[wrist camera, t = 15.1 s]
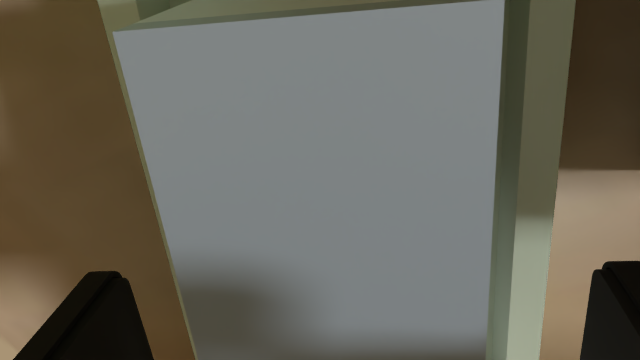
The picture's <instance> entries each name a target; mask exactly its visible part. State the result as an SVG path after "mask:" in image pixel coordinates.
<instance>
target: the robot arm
mask: <svg viewBox="0 0 640 360" xmlns="http://www.w3.org/2000/svg"><path fill="white" fill-rule="evenodd" d="M13 360H154V359H153V355H152V352H151V349H150V346H149V343H148V340H147V337H146V333H145V330H144V327H143V324H142V321H141V318H140V315H139V311H138V308H137V305H136V302H135V299H134V296H133V292H132V289H131V286H130V283H129V281H128V280H127V279H126V278H122V276H121V274H120V273H119V272H116V271H96V272H89V273H87V274H86V275H85V276H84V277H83V279H82V280H81V281H80V282H79V283H78V284H77V286H76V287H75V288H74V289H73V290H72V291H71V293H70V294H69V295H68V296H67V297H66V298H65V300H64V301H63V302H62V303H61V304H60V305H59V307H58V308H57V309H56V310H55V311H54V312H53V314H52V315H51V316H50V317H49V318H48V319H47V321H46V322H45V323H44V324H43V325H42V326H41V328H40V329H39V330H38V331H37V332H36V333H35V335H34V336H33V337H32V338H31V339H30V340H29V342H28V343H27V344H26V345H25V346H24V347H23V349H22V350H21V351H20V352H19V353H18V354H17V356H16V357H15V358H14V359H13ZM580 360H640V261H608V262H605V263H604V265H603V267H602V269H597V270H594V272H593V275H592V280H591V287H590V294H589V301H588V308H587V315H586V321H585V328H584V335H583V342H582V349H581V355H580Z"/></svg>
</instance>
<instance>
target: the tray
mask: <svg viewBox="0 0 640 360" xmlns="http://www.w3.org/2000/svg"><path fill="white" fill-rule="evenodd" d="M97 1H98V5H99V9H100V12H101V16H102V20H103V23H104V27H105V31H106V34H107V38H108V42H109V45H110V49H111V53H112V56H113V60H114V64H115V67H116V71H117V75H118V78H119V82H120V86H121V89H122V93H123V97H124V100H125V104H126V108H127V111H128V115H129V119H130V122H131V126H132V129H133V133H134V137H135V140H136V144H137V148H138V151H139V155H140V159H141V162H142V166H143V170H144V173H145V177H146V181H147V184H148V188H149V192H150V195H151V199H152V203H153V206H154V210H155V214H156V217H157V221H158V225H159V228H160V232H161V236H162V239H163V243H164V246H165V250H166V254H167V257H168V261H169V265H170V268H171V272H172V276H173V279H174V283H175V287H176V290H177V294H178V298H179V301H180V305H181V309H182V312H183V316H184V320H185V323H186V327H187V331H188V334H189V338H190V342H191V345H192V349H193V353H194V356H195V360H198V357H197V353H196V350H195V346H194V342H193V338H192V334H191V330H190V327H189V323H188V319H187V315H186V311H185V308H184V304H183V300H182V296H181V292H180V288H179V285H178V281H177V277H176V273H175V269H174V266H173V262H172V258H171V254H170V250H169V247H168V243H167V239H166V235H165V231H164V227H163V224H162V220H161V216H160V212H159V208H158V205H157V201H156V197H155V193H154V189H153V185H152V182H151V178H150V174H149V170H148V166H147V163H146V159H145V155H144V151H143V147H142V144H141V140H140V136H139V132H138V128H137V124H136V121H135V117H134V113H133V109H132V105H131V102H130V98H129V94H128V90H127V86H126V82H125V79H124V75H123V71H122V67H121V63H120V60H119V56H118V52H117V48H116V44H115V41H114V37H113V33H112V32H113V31H116V30H118V29H121V28H123V27H126V26H128V25H131V24H133V23H136V22H138V21H141V20H143V19H146V18H148V17H151V16H153V15H156V14H158V13H161V12H163V11H166V10H168V9H171V8H173V7H176V6H178V5H181V4H183V3H186V2H188V1H191V0H97ZM575 4H576V0H505V4H504V23H503V42H502V60H501V79H500V98H499V116H498V135H497V154H496V173H495V191H494V210H493V229H492V247H491V266H490V285H489V304H488V322H487V341H486V360H539V354H540V344H541V334H542V325H543V315H544V305H545V295H546V286H547V276H548V266H549V257H550V247H551V237H552V227H553V218H554V208H555V198H556V189H557V179H558V169H559V159H560V150H561V140H562V130H563V120H564V111H565V101H566V91H567V82H568V72H569V62H570V52H571V43H572V33H573V23H574V14H575Z"/></svg>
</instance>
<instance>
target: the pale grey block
mask: <svg viewBox="0 0 640 360" xmlns="http://www.w3.org/2000/svg"><path fill="white" fill-rule="evenodd" d="M504 4H505V0H191V1H188V2H186V3H183V4H181V5H178V6H176V7H173V8H171V9H168V10H166V11H163V12H161V13H158V14H156V15H153V16H151V17H148V18H146V19H143V20H141V21H138V22H136V23H133V24H131V25H128V26H126V27H123V28H121V29H118V30H116V31H113V32H112V33H113V37H114V41H115V44H116V48H117V52H118V56H119V60H120V63H121V67H122V71H123V75H124V79H125V82H126V86H127V90H128V94H129V98H130V102H131V105H132V109H133V113H134V117H135V121H136V124H137V128H138V132H139V136H140V140H141V144H142V147H143V151H144V155H145V159H146V163H147V166H148V170H149V174H150V178H151V182H152V185H153V189H154V193H155V197H156V201H157V205H158V208H159V212H160V216H161V220H162V224H163V227H164V231H165V235H166V239H167V243H168V247H169V250H170V254H171V258H172V262H173V266H174V269H175V273H176V277H177V281H178V285H179V288H180V292H181V296H182V300H183V304H184V308H185V311H186V315H187V319H188V323H189V327H190V330H191V334H192V338H193V342H194V346H195V350H196V353H197V357H198V360H486V341H487V322H488V304H489V285H490V266H491V247H492V229H493V210H494V191H495V173H496V154H497V135H498V116H499V98H500V79H501V60H502V42H503V23H504Z"/></svg>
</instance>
